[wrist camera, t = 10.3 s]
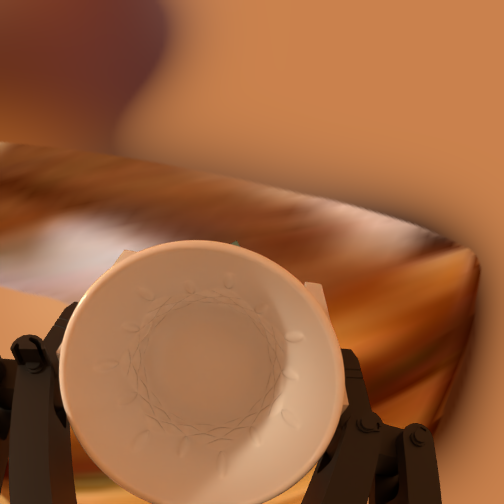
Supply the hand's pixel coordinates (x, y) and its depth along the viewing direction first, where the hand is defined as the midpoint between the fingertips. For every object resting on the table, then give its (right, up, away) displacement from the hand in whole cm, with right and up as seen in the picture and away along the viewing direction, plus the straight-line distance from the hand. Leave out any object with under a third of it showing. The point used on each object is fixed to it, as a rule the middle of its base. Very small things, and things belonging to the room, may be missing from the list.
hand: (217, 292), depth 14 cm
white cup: (-1, -4, +3) cm, 5 cm away
